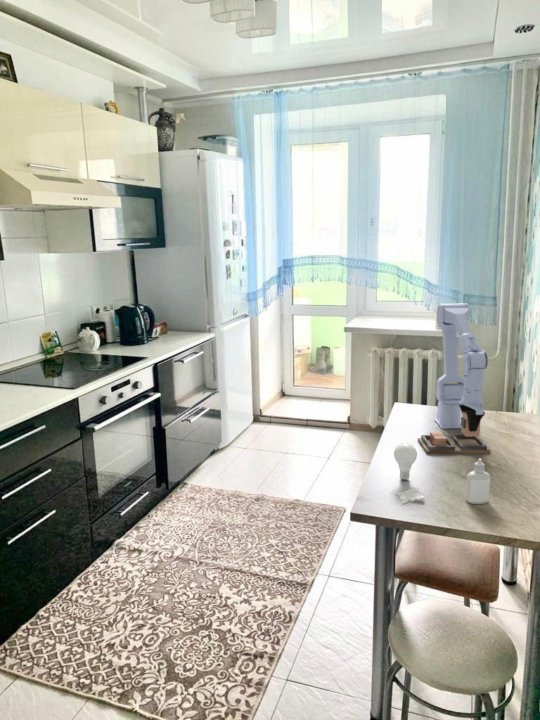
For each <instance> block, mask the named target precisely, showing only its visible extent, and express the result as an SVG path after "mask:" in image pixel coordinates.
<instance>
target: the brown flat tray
mask: <svg viewBox="0 0 540 720" xmlns="http://www.w3.org/2000/svg"><path fill="white" fill-rule="evenodd" d="M417 442H418V443H419V445H420V446H421V448H422V449H423V451H424V452H425V454H426V455H451V454H452V455H453V454H462V455H463V454H464V455H465V454H490V453H491V449H490V448H489V447H488V445H486V443H485V442H484V441H483V440H482V439H481V438H480V436H472V437H466V436H465V435H464V434H463V433H462V434H460V433H459V434H458V433H457V434H450V437H448V436H447V434H444V433H443V432H442V431H430V432H429V434H422V435H421V436H420V437H418V438H417Z"/></svg>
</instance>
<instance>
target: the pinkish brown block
mask: <svg viewBox="0 0 540 720" xmlns="http://www.w3.org/2000/svg"><path fill="white" fill-rule="evenodd" d="M481 420H482V419H481ZM481 420H480V423H479V425H478V428H477V431H472V432H470V431H469V425H468V417H467V414H466V412H463V415H462V414H461V417H460V423H461V426H462V428H461V433H462V434H464V435H465V436H466V437H472V436H478V437H480V433H481V432H480V430H481Z"/></svg>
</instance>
